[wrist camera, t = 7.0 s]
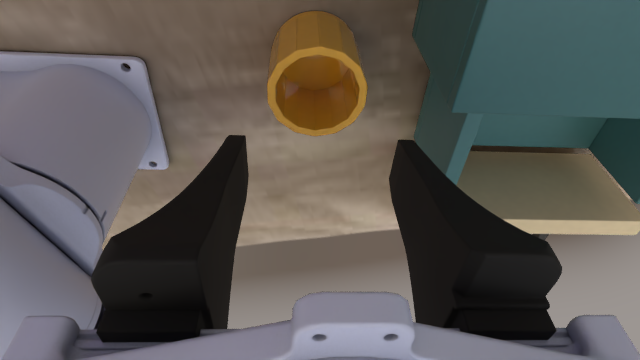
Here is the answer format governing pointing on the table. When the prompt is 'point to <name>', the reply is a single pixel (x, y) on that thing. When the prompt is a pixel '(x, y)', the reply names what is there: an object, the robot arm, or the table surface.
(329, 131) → the cup
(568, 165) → the drawer
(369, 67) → the table surface
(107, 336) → the robot arm
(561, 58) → the cabinet
